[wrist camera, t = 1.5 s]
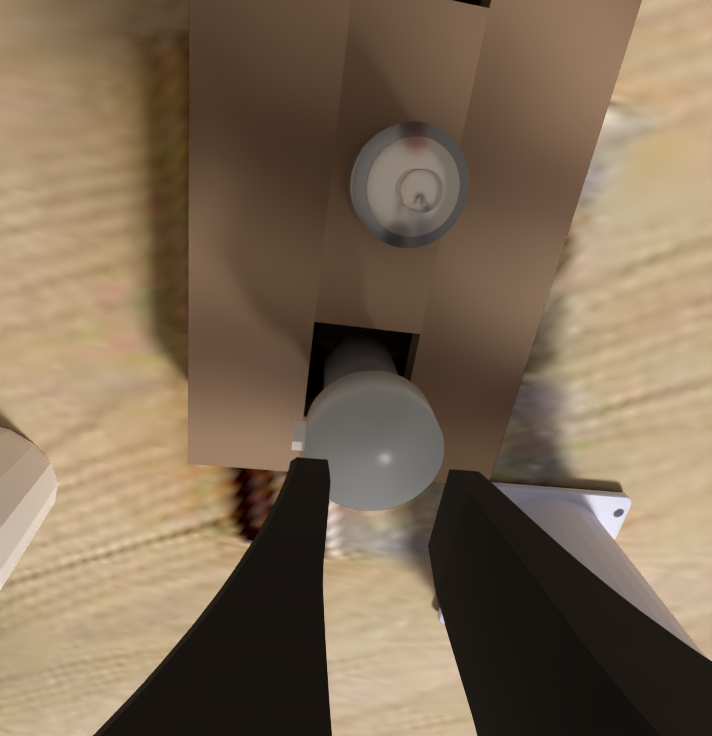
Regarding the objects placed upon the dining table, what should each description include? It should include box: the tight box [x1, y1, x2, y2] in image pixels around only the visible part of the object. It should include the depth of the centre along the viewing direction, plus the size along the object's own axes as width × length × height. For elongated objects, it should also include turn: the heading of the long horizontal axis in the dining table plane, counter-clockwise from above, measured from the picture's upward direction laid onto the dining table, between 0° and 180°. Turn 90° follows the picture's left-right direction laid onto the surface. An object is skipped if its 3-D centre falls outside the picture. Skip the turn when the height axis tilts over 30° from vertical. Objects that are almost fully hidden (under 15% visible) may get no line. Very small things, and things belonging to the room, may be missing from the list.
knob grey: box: [291, 335, 444, 511], centre depth 13 cm, size 3×4×5 cm
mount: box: [188, 0, 642, 483], centre depth 15 cm, size 20×11×4 cm, turn 172°
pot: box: [345, 121, 469, 248], centre depth 11 cm, size 3×3×4 cm
